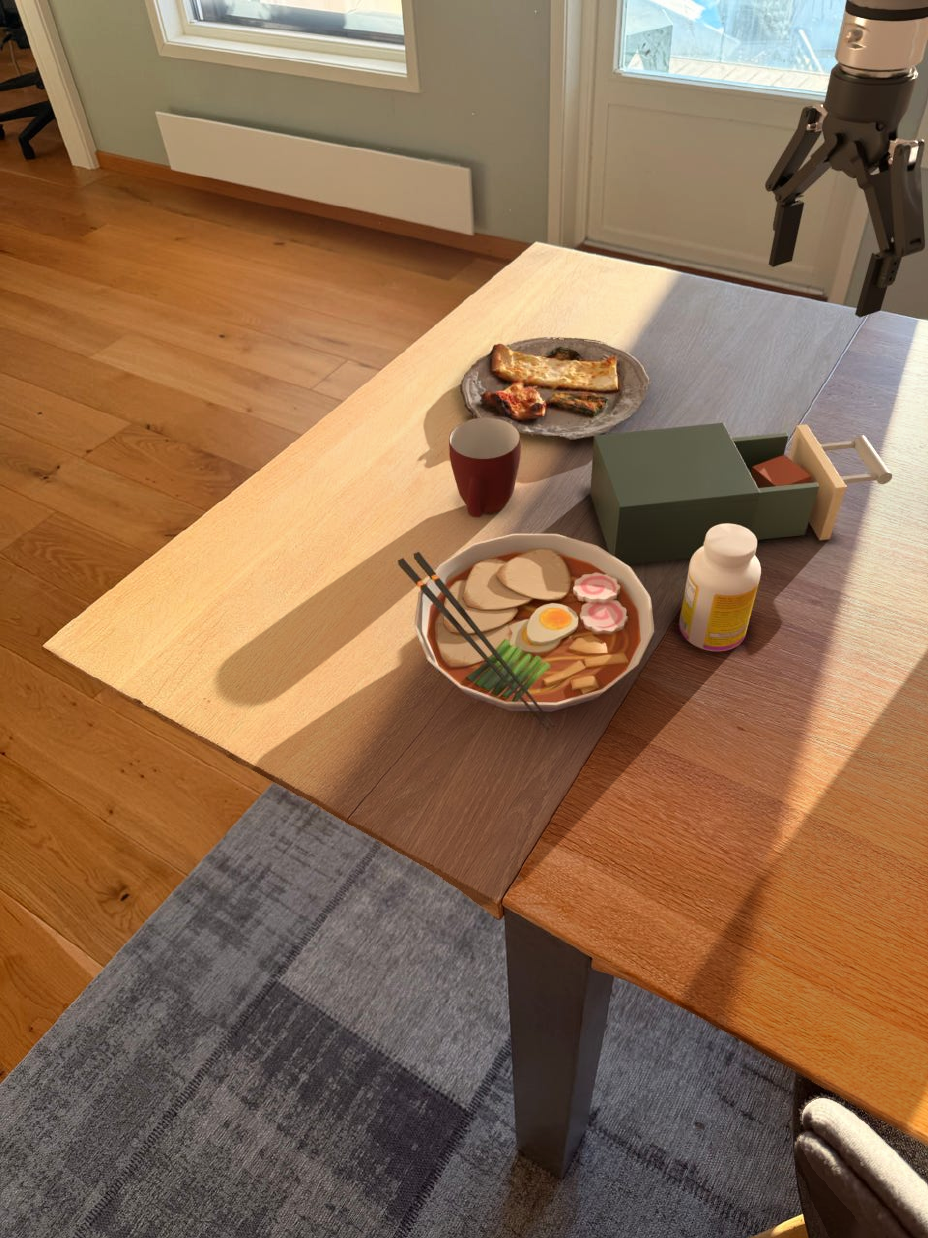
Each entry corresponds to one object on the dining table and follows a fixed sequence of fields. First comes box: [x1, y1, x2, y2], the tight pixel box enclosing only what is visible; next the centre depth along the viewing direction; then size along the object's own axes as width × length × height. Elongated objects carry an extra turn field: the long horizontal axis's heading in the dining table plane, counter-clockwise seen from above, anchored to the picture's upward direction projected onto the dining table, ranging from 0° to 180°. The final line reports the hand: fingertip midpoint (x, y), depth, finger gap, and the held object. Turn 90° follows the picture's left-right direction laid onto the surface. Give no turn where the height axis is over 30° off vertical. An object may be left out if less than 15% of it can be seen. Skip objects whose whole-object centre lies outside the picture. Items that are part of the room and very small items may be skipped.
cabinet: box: [589, 422, 760, 565], centre depth 101 cm, size 15×13×9 cm
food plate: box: [459, 336, 650, 441], centre depth 123 cm, size 25×23×4 cm
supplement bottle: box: [678, 524, 762, 652], centre depth 88 cm, size 7×7×13 cm
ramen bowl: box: [397, 533, 655, 730], centre depth 88 cm, size 25×23×8 cm
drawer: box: [731, 423, 893, 541], centre depth 102 cm, size 20×12×7 cm, turn 96°
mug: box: [448, 417, 522, 518], centre depth 104 cm, size 10×8×10 cm
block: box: [751, 454, 811, 488], centre depth 102 cm, size 4×4×4 cm
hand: (821, 286), depth 98 cm, fingers open, 13 cm apart
